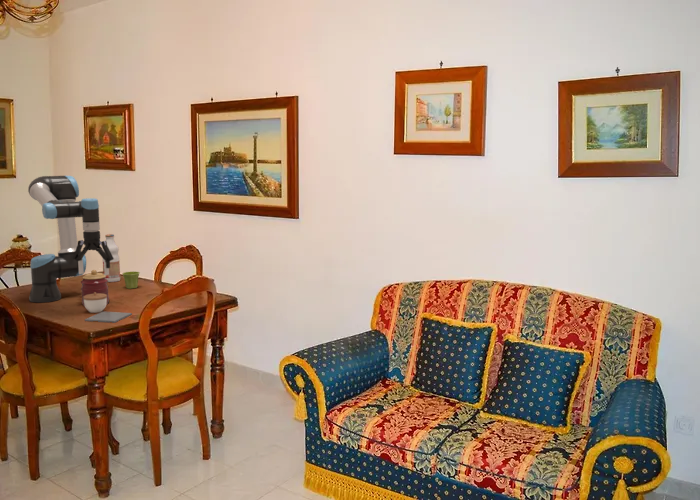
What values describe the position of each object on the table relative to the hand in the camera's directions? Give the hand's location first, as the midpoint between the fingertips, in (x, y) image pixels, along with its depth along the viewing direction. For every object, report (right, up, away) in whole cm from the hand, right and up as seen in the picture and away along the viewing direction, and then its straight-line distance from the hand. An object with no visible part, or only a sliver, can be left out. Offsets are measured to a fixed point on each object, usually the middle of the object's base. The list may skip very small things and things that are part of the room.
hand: (94, 274), depth 308 cm
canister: (-6, -16, +18) cm, 25 cm away
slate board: (+11, -20, -9) cm, 25 cm away
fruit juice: (-20, -7, +76) cm, 79 cm away
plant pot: (-1, -10, +56) cm, 57 cm away
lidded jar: (0, -18, +3) cm, 19 cm away
